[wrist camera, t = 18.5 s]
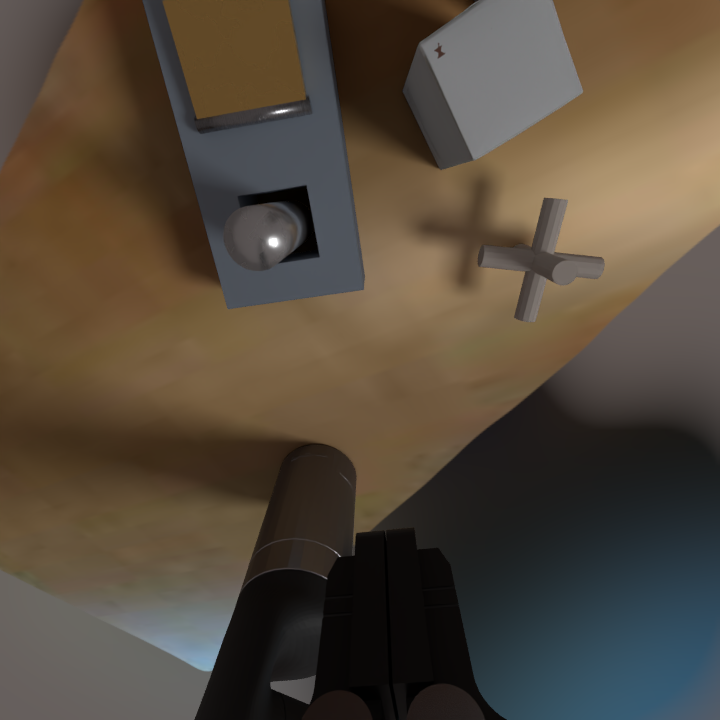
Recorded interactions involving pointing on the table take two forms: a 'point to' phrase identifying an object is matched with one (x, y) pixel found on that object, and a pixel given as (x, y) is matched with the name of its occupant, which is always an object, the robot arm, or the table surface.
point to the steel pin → (266, 233)
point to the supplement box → (489, 77)
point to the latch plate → (239, 61)
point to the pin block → (274, 170)
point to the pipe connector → (541, 260)
